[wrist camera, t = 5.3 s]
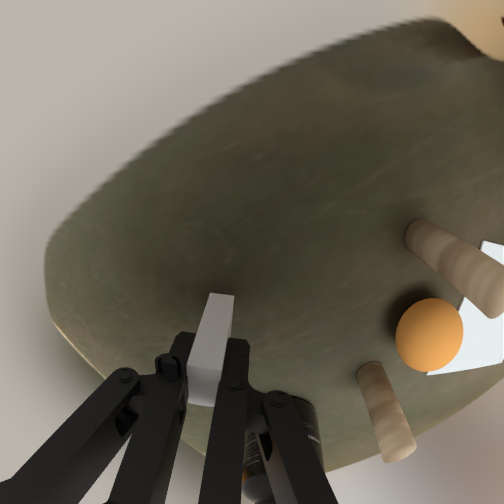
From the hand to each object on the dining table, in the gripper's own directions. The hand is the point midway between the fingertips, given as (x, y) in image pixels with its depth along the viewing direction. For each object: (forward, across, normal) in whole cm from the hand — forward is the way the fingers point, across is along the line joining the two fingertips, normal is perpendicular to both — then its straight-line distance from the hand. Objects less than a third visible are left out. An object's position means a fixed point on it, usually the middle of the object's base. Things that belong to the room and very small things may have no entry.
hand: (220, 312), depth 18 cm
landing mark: (+2, +27, 0) cm, 27 cm away
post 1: (+2, +13, -6) cm, 15 cm away
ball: (-1, +15, 0) cm, 15 cm away
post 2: (+2, +13, +6) cm, 15 cm away
